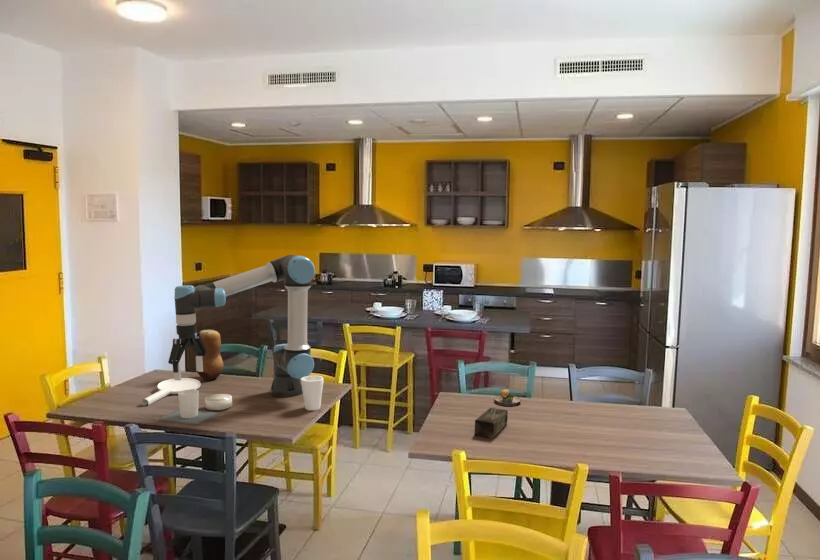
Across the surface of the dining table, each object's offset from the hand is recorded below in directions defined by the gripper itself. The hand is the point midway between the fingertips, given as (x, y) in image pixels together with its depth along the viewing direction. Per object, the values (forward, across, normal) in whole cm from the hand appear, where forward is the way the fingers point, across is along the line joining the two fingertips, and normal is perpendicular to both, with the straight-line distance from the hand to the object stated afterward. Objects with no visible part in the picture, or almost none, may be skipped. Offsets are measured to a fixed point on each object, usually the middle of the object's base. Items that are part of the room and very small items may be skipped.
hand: (189, 375), depth 241 cm
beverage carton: (+20, -24, +119) cm, 123 cm away
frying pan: (+18, -24, -31) cm, 43 cm away
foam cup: (+18, -26, +42) cm, 53 cm away
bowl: (+18, -14, +4) cm, 22 cm away
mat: (+17, 0, 0) cm, 17 cm away
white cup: (+17, +1, 0) cm, 17 cm away
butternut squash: (+18, -54, -30) cm, 64 cm away
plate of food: (+20, -60, +120) cm, 136 cm away
